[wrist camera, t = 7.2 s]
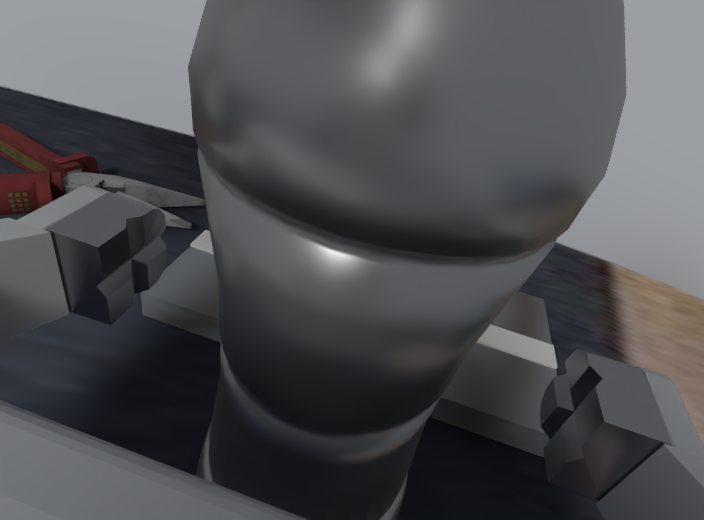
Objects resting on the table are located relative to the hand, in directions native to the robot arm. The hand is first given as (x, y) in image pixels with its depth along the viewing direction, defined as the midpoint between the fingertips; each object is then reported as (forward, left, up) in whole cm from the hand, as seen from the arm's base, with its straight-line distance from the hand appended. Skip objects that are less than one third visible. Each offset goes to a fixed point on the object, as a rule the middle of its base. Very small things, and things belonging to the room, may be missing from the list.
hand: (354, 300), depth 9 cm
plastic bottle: (0, +1, -11) cm, 11 cm away
